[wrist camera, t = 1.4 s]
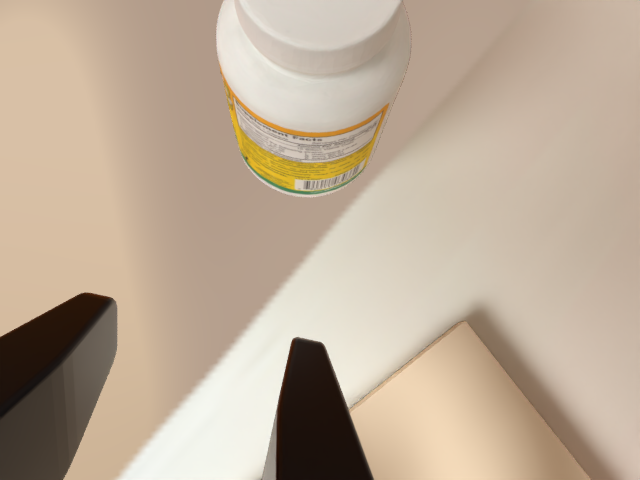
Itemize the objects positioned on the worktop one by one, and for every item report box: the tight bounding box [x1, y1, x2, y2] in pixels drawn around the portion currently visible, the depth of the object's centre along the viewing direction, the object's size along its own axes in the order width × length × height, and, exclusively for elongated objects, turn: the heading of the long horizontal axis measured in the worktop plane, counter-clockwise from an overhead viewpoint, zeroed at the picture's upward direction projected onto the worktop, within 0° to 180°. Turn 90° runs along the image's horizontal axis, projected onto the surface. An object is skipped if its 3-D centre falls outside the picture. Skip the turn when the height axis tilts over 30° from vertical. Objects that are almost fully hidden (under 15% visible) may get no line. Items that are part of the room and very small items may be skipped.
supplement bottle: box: [216, 0, 411, 197], centre depth 18 cm, size 5×5×10 cm
